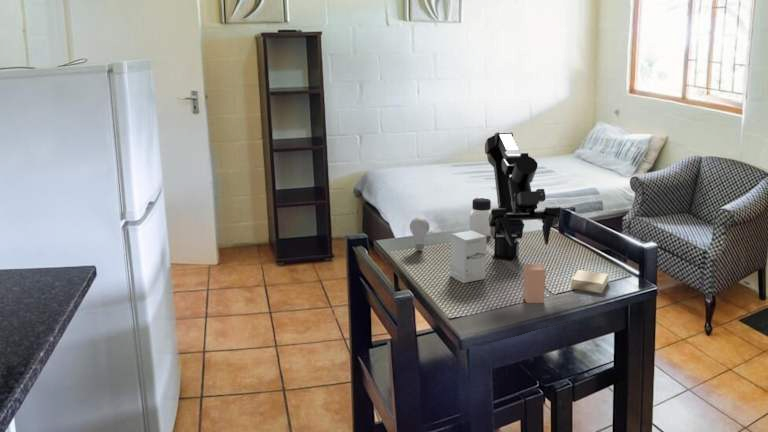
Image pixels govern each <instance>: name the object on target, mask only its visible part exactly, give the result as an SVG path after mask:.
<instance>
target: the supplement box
mask: <svg viewBox="0 0 768 432" xmlns="http://www.w3.org/2000/svg"><path fill="white" fill-rule="evenodd" d="M487 237H488V236H484V235H482V234H480V233H477V232H475V231H470V230H468V231H467V230H466V231H460V232H455V233H454V232H453V233H450V259H449V260H450V262H449V276H450V277H452V278H453V279H455V280H457V281H459V282H461V283H462V284H466V283H470V282H475V281H480V280H485V279H486V267H487V266H486V261H487Z"/></svg>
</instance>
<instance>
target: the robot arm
mask: <svg viewBox="0 0 768 432" xmlns="http://www.w3.org/2000/svg"><path fill="white" fill-rule="evenodd" d="M484 152H485V153H484V154H485V155H486V157H487V162H488V163H489V165H491V166H492V168H493V172H494V180H495V181H494V182H495V190H496V197H497V208H496V207H494V208H491V212H490V215H489V226H490V227H491V236H490V237H491V238H492V239H493V240H494V246H493V247H494V248H493V249H494V253H493V254H492V256H491V258H493V259H502V260H507V261H514V260H515V259H516V258H517V257H518V255H519V254H520V253H519V251H520V242H519V241H518V239H519V240H521V239H523V238H522V237H523V234H524V228H525V223H524V220H525V221H527V220H528V221H529V220H532V221H534V220H541V223H542V225H541V226H542V234H543V241H544V245H545V246H547V245H548V244H549V240H550V234H551V229H552V228H554V227H555V226H557V225H558V224H559V223H560V220H561V218H562V216H563V212H562V209H561V207H559V206H546V207H545V208H544V211H536V210H537V209H538V205H539V204H540V202H543V203H544V202H545V201H546V192H545V189H544V188H537V189H536V190H534V191H532V188H531V183H532V182H533V181H534V178H535V174H536V172H537V169H538V162H537V161H536V159H534V157H531V156H529V153H528V152H525V151H524V150H520V149H519V147H518V145H517V143H516V141H515V139H514V133H513V132H512V131H497V132H495V133H494V134H493V135H492V136H490V137H488V138H487V139H486V141H485V143H484Z"/></svg>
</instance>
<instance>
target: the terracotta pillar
mask: <svg viewBox="0 0 768 432" xmlns="http://www.w3.org/2000/svg"><path fill="white" fill-rule="evenodd" d="M523 265H524V266H523V282H522V283H523V286H522V287H523V288H522V298H523V300H524V301H525V302H526V304H541V303H542V304H543V303H545V293H546V291H545V290H546V273H547V271H546V268H545V266H543V264H542V263H524V264H523Z"/></svg>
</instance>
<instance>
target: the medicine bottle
mask: <svg viewBox="0 0 768 432" xmlns="http://www.w3.org/2000/svg"><path fill="white" fill-rule="evenodd" d="M491 202H492V201H491V200H490V199H489V198H487V197H476V198H473V199H472V206H471V207H472V209H471V211H470V214H469V231H475V232H477V233H480V234H482V235H484V236H486V237H492V236H491V227H490V226H489V215H490V212H491V210H492V208H491V206H492V205H491V204H492V203H491Z"/></svg>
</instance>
